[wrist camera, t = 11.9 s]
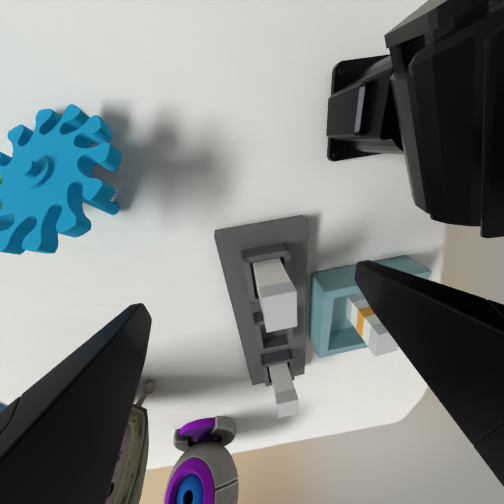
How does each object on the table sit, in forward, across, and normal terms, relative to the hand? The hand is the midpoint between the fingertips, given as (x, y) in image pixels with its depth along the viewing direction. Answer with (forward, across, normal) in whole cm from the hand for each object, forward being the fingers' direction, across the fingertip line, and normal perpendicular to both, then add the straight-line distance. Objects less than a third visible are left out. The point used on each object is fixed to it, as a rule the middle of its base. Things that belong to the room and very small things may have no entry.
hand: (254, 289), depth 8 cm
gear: (+12, +12, -5) cm, 18 cm away
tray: (+12, -14, +16) cm, 24 cm away
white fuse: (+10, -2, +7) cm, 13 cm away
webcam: (+12, +15, +48) cm, 52 cm away
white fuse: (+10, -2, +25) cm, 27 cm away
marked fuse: (+11, -14, +16) cm, 24 cm away
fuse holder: (+12, -2, +16) cm, 20 cm away
